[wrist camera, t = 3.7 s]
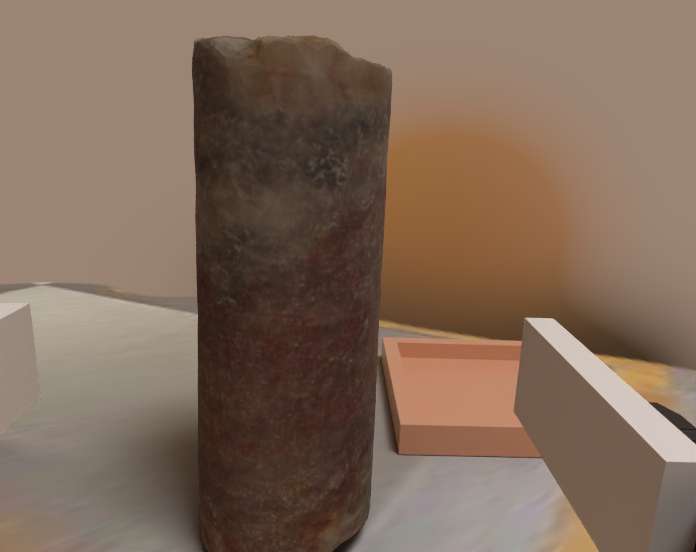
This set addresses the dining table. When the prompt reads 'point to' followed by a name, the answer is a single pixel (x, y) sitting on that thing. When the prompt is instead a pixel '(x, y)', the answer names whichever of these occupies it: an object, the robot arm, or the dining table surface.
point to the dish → (455, 397)
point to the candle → (287, 288)
